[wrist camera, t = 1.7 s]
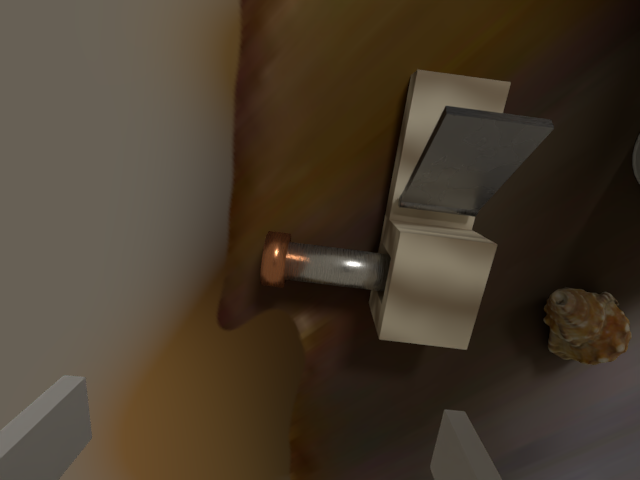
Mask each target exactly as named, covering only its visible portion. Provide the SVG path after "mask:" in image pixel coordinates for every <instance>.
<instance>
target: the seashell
mask: <svg viewBox="0 0 640 480" xmlns="http://www.w3.org/2000/svg"><path fill="white" fill-rule="evenodd" d="M618 305H619V303H618V301H617V300H616V299H615V298H614V297H613V296H612V295H611V294H610V293H607V292H602V293H601V294H597V293H590V292H586V291H584V290H582V289H573V288H567V287H565V288H563V289H558V290H556V291H554V292H553V293H552V294H551V295H550V297H549V299H547V304H546V305H545V306H544V311H545V312H546V313H547V315H546V316H545V317H544V319H543V320H544V322H545V323H546V324H547V325H549V326H550V335H549V340H548V349H549V351H550V352H552V353H553V354H555V355H557V356H559V357H560V358H562V359H565V360H569V359H572V360H576V361H579V362H580V363H582V364H592V365H597V364H599V363H605V362H612V361H614V360H615V359H616V358H617V357H618V356H619V355H620V354H622V353H624V352H626V351H627V349H628V343H629V340H630V339H631V333H630V329H629V325H630V323H629V320H628V318H627V317H625V314H624V312H622V311H621V310H620V309H619V308H618Z"/></svg>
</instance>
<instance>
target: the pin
mask: <svg viewBox="0 0 640 480" xmlns="http://www.w3.org/2000/svg"><path fill="white" fill-rule="evenodd" d="M390 261H391V257H390V255H389V254H382V253H374V252H366V251H358V250H350V249H342V248H334V247H326V246H318V245H309V244H301V243H293V242H291V234H289V233H281V232H273V231H269V232H268V234H267V236H266V240H265V244H264V249H263V255H262V263H261V285H264V286H272V287H280V288H284V285H285V281H286V280H293V281H302V282H310V283H318V284H326V285H334V286H342V287H351V288H359V289H367V290H375V291H383V292H384V291H385V286H386V281H387V276H388V271H389V266H390Z"/></svg>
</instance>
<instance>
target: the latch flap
mask: <svg viewBox="0 0 640 480" xmlns="http://www.w3.org/2000/svg"><path fill="white" fill-rule="evenodd" d="M553 129H554V127H553V124H552V121H551V120H549V119H542V118H534V117H527V116H520V115H512V114H505V113H497V112H490V111H482V110H475V109H468V108H460V107H453V106H445V108H444V110H443V112H442V114H441V116H440V118H439V120H438V122H437V124H436V126H435V128H434V130H433V132H432V134H431V136H430V138H429V140H428V142H427V144H426V146H425V148H424V150H423V152H422V154H421V156H420V158H419V160H418V162H417V164H416V166H415V168H414V170H413V172H412V174H411V176H410V178H409V180H408V182H407V184H406V186H405V188H404V190H403V192H402V194H401V195H400V197H399V201H398V206H399V207H402V208H409V209H417V210H425V211H433V212H441V213H448V214H456V215H464V216H472V217H475V216H476V215H477V214H478V211H479V210H480V209H481V208H482V207H483V206H484V204H485V203H486V202H487V201H488V200H489V199H490V198H491V197H492V196H493V195H494V194H495V192H496V191H497V190H498V189H499V188H500V187H501V186H502V185H503V184H504V183H505V181H506V180H507V179H508V178H509V177H510V176H511V175H512V174H513V173H514V172H515V171H516V169H517V168H518V167H519V166H520V165H521V164H522V163H523V162H524V161H525V160H526V159H527V157H528V156H529V155H530V154H531V153H532V152H533V151H534V150H535V149H536V148H537V147H538V145H539V144H540V143H541V142H542V141H543V140H544V139H545V138H546V137H547V136H548V135H549V133H550V132H551V131H552V130H553Z"/></svg>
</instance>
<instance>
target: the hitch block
mask: <svg viewBox="0 0 640 480" xmlns="http://www.w3.org/2000/svg"><path fill="white" fill-rule="evenodd" d="M510 84H511V82H505V81H497V80H490V79H483V78H475V77H468V76H461V75H453V74H446V73H439V72H431V71H424V70H417V71H416V72H414V73H413V74H412V75H411V78H410V84H409V89H408V94H407V100H406V105H405V111H404V116H403V121H402V127H401V132H400V138H399V143H398V148H397V154H396V159H395V164H394V170H393V175H392V181H391V186H390V191H389V197H388V202H387V208H386V213H385V218H384V224H383V229H382V234H381V240H380V245H379V251H378V253H382V254H389V255H390V257H391V261H390V266H389V271H388V276H387V281H386V286H385V291H384V292H383V291H375V290H371V294H370V299H369V306H370V309H371V313H372V316H373V320H374V323H375V327H376V330H377V334H378V338H379V339H380V340H388V341H397V342H405V343H414V344H422V345H430V346H439V347H447V348H456V349H464V350H467V347H468V344H469V340H470V337H471V334H472V330H473V327H474V323H475V320H476V317H477V313H478V310H479V306H480V303H481V299H482V296H483V293H484V289H485V286H486V282H487V279H488V276H489V272H490V269H491V265H492V262H493V258H494V255H495V252H496V248H497V245H498V244H496V243H494V242H492V241H490V240H489V239H487V238H485V237H483V236H482V235H480V234H478V233H476V232H474V231H473V230H472V227H473V223H474V219H475V217H472V216H464V215H456V214H448V213H441V212H433V211H425V210H417V209H409V208H402V207H399V206H398V201H399V197H400V195H401V194H402V192H403V190H404V188H405V186H406V184H407V182H408V180H409V178H410V176H411V174H412V172H413V170H414V168H415V166H416V164H417V162H418V160H419V158H420V156H421V154H422V152H423V150H424V148H425V146H426V144H427V142H428V140H429V138H430V136H431V134H432V132H433V130H434V128H435V126H436V124H437V122H438V120H439V118H440V116H441V114H442V112H443V110H444V108H445V106H453V107H460V108H468V109H475V110H482V111H490V112H497V113H503V110H504V107H505V103H506V99H507V95H508V92H509V88H510Z"/></svg>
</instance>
